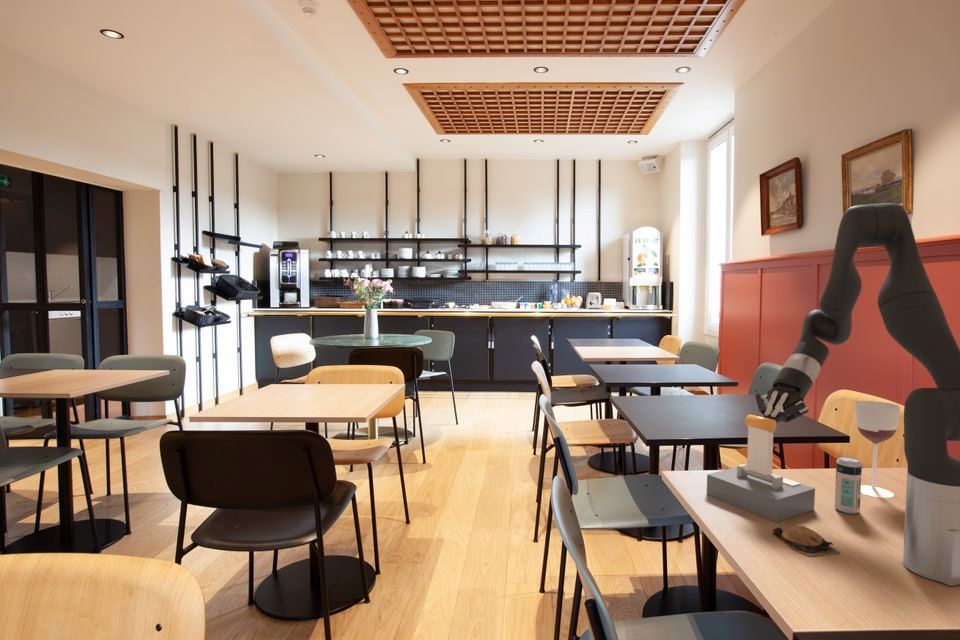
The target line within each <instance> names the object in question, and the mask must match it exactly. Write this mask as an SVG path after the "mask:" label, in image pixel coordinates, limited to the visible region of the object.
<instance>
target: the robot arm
mask: <svg viewBox="0 0 960 640" xmlns="http://www.w3.org/2000/svg"><path fill="white" fill-rule="evenodd" d="M880 247H882V248H884V249H885V250H886V252H887V255H888V258H889V264H890V267H889V270H888V273H887V275H886V277H885V279H884V281H883V282H882V285H881V287H880V289H879V292H878V296H877V301H876V302H877V306H878V310H879V313H880V315H881V318H882V320H883V324H884V327H885V330H887V332H888V334H889V336H890V337H891V338H892V339H893V340H894V341H895V342H896V343H897V344H898V345H900V346H901V347H902V348H903V349H904V350H905V351H906V352H907V353H909V354H910V355H911V356H912V357H913V358H915V359H916V360H917V361H918V362H919V363H920V364H921V365H922V366H923V367H924V368H925V369H926V370H927V372H928V374H929V375H930V377H931V378H932V380H933V381H934V383H935V385H936V387H919V388H915V389H913V390H912V391H911V392H910V393H909V394H908V395H907V397H906V399H905V403H904V407H903V433H904V434H903V438H904V439H903V442H904V443H903V447H904V448H903V450H904V456H905V460H906V463H907V469H906V470H907V472H906V473H907V474H906V476H907V477H906V493H905V510H904V511H905V513H904V529H903V530H904V531H903V550H902V551H903V552H902V554H903V555H902V564H903V565H904V567H905V568H906V569H908V570H909V571H911V572H912V573H914V574H917V575H919V576H921V577H923V578H926V579H929V580H932V581H934V582H935V581H936V582H939V583H943V584H945V585H947V586H949V587H953V586H958V585H959V586H960V459H958V458H956V457H952V456H950V455H949V453H948V452H949V451H948V441H949V442H960V347H959V345H958V343H957V341H956V339H955V337H954V335H953V332H952V330H951V328H950V325H949V323H948V320H947V317H946V316H945V313H944V309H943V307H942V304H941V302H940V299H939V298H938V296H937V295H938V294H936V291H935V289H934V288H933V285H932V283H931V280H930V279H929V276H928V274H927V271H926V269H925V266H924V263H923V261H922V258H921V255H920V252H919V249H918V245H917V242H916V238H915V234H914V231H913V226H912V224H911V221H910V218H909V215H908V212H906V210H905V208H904V206H902V205H901V204H899V203H896V202H885V203H883V202H881V203H870V204H869V203H868V204H857V205H854V206H850V207H848V208H847V209H846V211H845V212H844V214H842V218H841V220H840V222H839V226H838V230H837V235H836V240H835V245H834V251H833V257H832V262H831V269H830V272H829V277H828V280H827V282H826V284H825V287H824V289H823V290H824V291H823V292H822V295H821V297H820V299H819V308H820V309H814V310H811V311H809V312H808V313H807V314H806V315H805V317H804V318H803V322H802V326H801V327H802V328H801V334H800V338H799V341H798V343H797V345H796V347H795V348H794V350H793V352H792V353H791V355H790V356H789V358H787V360H786V361H785V362H784V364H783V365H782V366H781V369H780V371H779V372H778V374H777V376H776V377H775V379H774V381H773V383H772V387H771V388H770V389H769V390H767V392H766V393H764V394H762V395H761V394H760V393H757V394H755V400H756V403H757V407H758V412H760V413H761V416H762V417H764V418H768V419H772V420H775V421H776V423H777V424H779V423H781V422H784V423H789V422H792V421H793V420H795V419H797V418H799V417H801V416H804V415H805V414H807V413H809V411H810V409H809V408H808V406H807V404H805V402H804V401H805V398H806V397H807V395H808V393H809V392H810V390H811V388H812V386H813V385H814V383H815V381H816V380H817V378H818V376H819V373H820V370H821V369H822V367H823V365H824V364H825V362H826V360H827V358H828V356H829V354H830V349H829V347H828V346H827V345H826V344H825V343H823V342H826V343H828V344H831V345H833V346H838V345H842V344H844V343H845V342H846V341H848V339H849V338H850V336H851V333H852V325H853V322H852V321H853V319H852V318H853V317H852V315H853V310H854V308H855V305H856V303H857V302H858V300H859V296H860V294H861V291H862V287H863V286H862V279H861V276H860V273H859V271H858V270H857V267H856V265H855V262H854V256H855V254H856V253H857V251H858V250H859V249H864V248H865V249H866V248H880Z"/></svg>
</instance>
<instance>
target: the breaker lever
mask: <svg viewBox="0 0 960 640" xmlns="http://www.w3.org/2000/svg"><path fill="white" fill-rule="evenodd" d="M744 424H745V426H746V427H747V461H746V463H747V464H746V465H747V467H745V468H744V474H746V475H749V476H752V477H755V478H758V479H761V480H764V481H767V482H770V483H772V477H774V476H773V475H774V474H773V456H774V455H773V454H774V450H773V449H774V433H775V432H776V430H777V427H778V423H776V421H775V420H772V419H768V418H764V417H763V416H758V415H754V414H748V415H746V417H745V419H744ZM771 474H773V475H771Z"/></svg>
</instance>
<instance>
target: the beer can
mask: <svg viewBox="0 0 960 640" xmlns="http://www.w3.org/2000/svg"><path fill="white" fill-rule="evenodd" d="M862 466H863V465H862V463H861V462H860V460H859V459H858V458H855V457H852V456H851V457H850V456H839V457H838V458H837V460H836V465H835V482H834V483H835V484H834V485H835V486H834V487H835V489H834V508H835V509H836V510H837V511H839V512H841V513H843V514H849V515H855V514H858V513H860V510H861V495H862V493H861V485H862V469H863V467H862Z"/></svg>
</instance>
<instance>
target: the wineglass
mask: <svg viewBox="0 0 960 640" xmlns="http://www.w3.org/2000/svg"><path fill="white" fill-rule="evenodd" d="M854 410H855V423H856V427H857V430H858V432H859V434H860V435H861V436H863V437H864V438H865V439H867V440H868V441H870V442H871V443H873V444H872V445H873V446H872V448H873V449H872V466H871V467H872V468H871V469H872V472H871V485H867V484H865V485H864V484H863V485H862V484H861V495H862V494H863V495H865V496H866V495H867V496H870V497H875V498H882V499H885V498H886V499H888V498H893V497H895V493H893V492H892V491H890V490H888V489H884V488H881V487H878V486H876V485H877V484H876V483H877V468H878V466H877V465H878V463H877V462H878V444H879V443H882V442H885V441H888V440H890V439H891V438H893V437H894V435H895V434H896V432H897V429H898V426H899V423H900V422H899V421H900V415H901V406H899V404H898V405H897V404H894V403H890V402H884V401H874V400H871V401H870V400H860V401H855V405H854Z"/></svg>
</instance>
